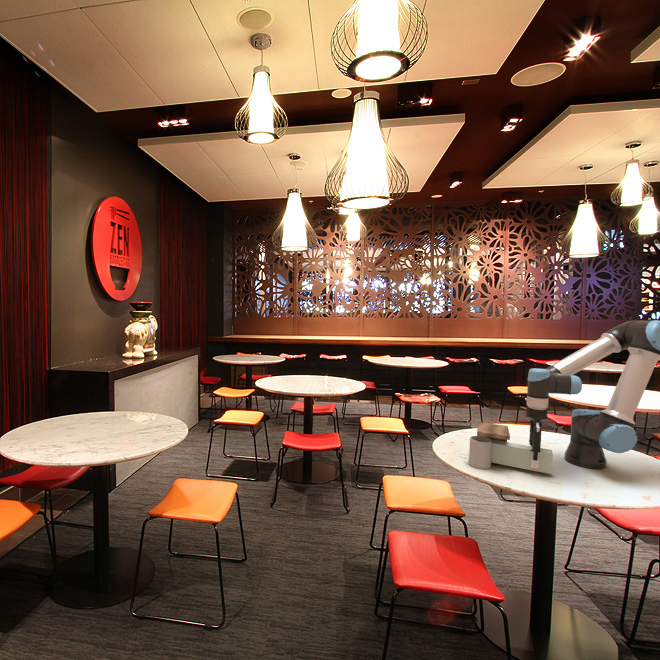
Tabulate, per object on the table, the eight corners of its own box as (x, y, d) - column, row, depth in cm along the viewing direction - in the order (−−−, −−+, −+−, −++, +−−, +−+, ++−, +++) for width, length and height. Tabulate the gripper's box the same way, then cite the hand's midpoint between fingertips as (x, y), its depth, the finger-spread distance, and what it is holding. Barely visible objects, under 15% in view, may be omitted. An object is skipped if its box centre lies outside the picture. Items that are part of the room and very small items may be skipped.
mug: (491, 470, 152) (492, 443, 152) (468, 467, 155) (469, 440, 155) (489, 460, 164) (491, 435, 163) (468, 457, 166) (469, 432, 166)
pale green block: (550, 469, 152) (551, 450, 152) (551, 474, 147) (552, 453, 147) (491, 458, 162) (492, 439, 162) (490, 462, 157) (491, 442, 157)
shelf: (505, 460, 164) (507, 425, 164) (507, 473, 150) (509, 436, 149) (476, 455, 169) (477, 421, 168) (475, 468, 154) (477, 431, 154)
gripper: (524, 401, 161) (520, 455, 162) (528, 411, 144) (525, 471, 145) (544, 404, 159) (540, 459, 160) (551, 414, 142) (547, 475, 143)
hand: (533, 464), depth 152 cm, fingers closed on pale green block, 5 cm apart
